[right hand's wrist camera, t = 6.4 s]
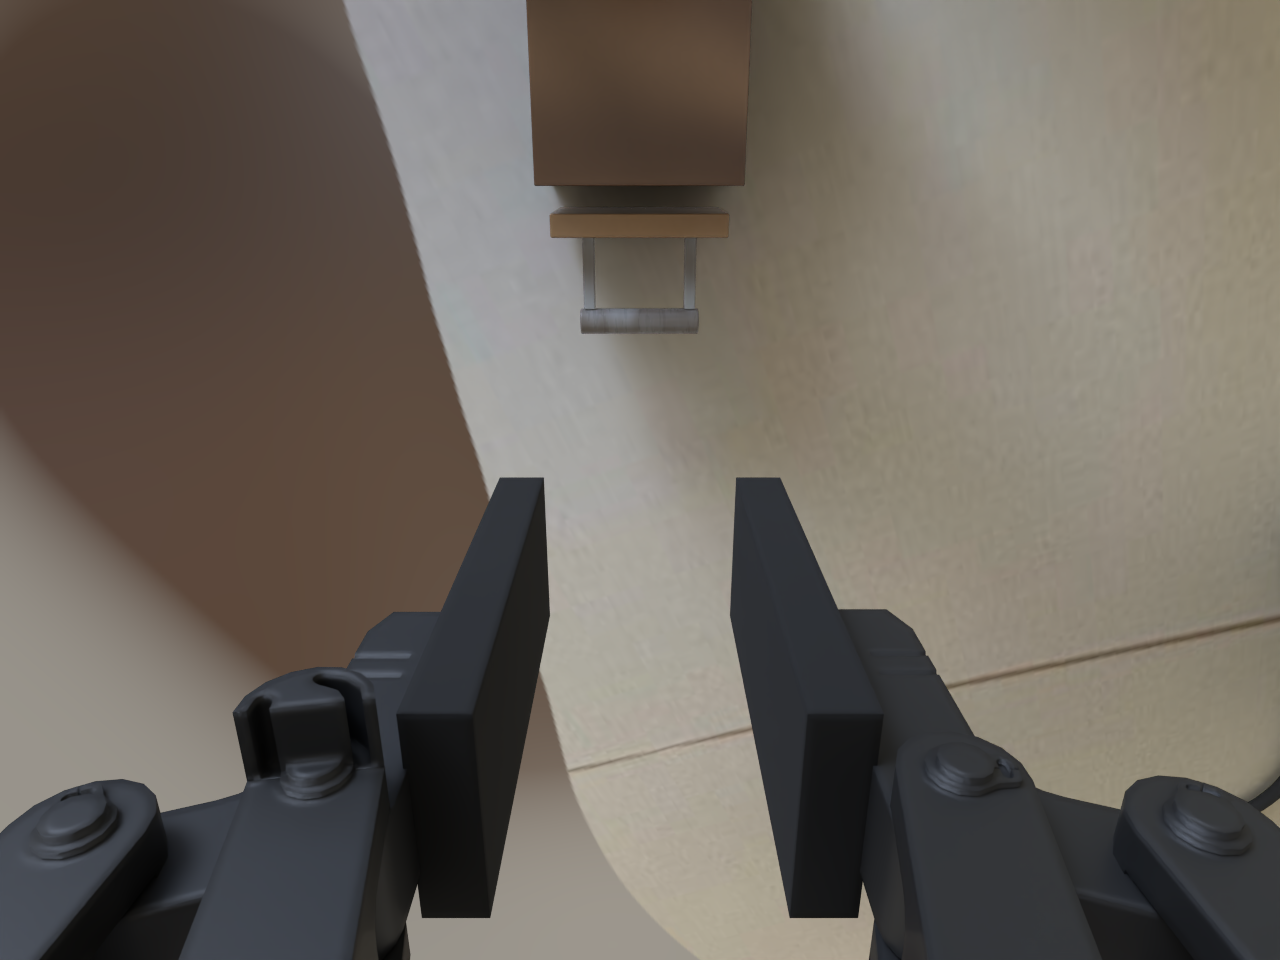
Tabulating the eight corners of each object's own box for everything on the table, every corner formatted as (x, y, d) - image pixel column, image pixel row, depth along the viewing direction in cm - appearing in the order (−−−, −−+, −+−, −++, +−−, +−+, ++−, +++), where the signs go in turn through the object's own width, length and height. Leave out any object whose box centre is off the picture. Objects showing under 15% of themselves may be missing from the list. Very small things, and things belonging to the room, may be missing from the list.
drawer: (715, 318, 51) (724, 338, 45) (563, 318, 51) (554, 338, 45) (729, -127, 43) (743, -170, 37) (548, -127, 43) (534, -169, 37)
